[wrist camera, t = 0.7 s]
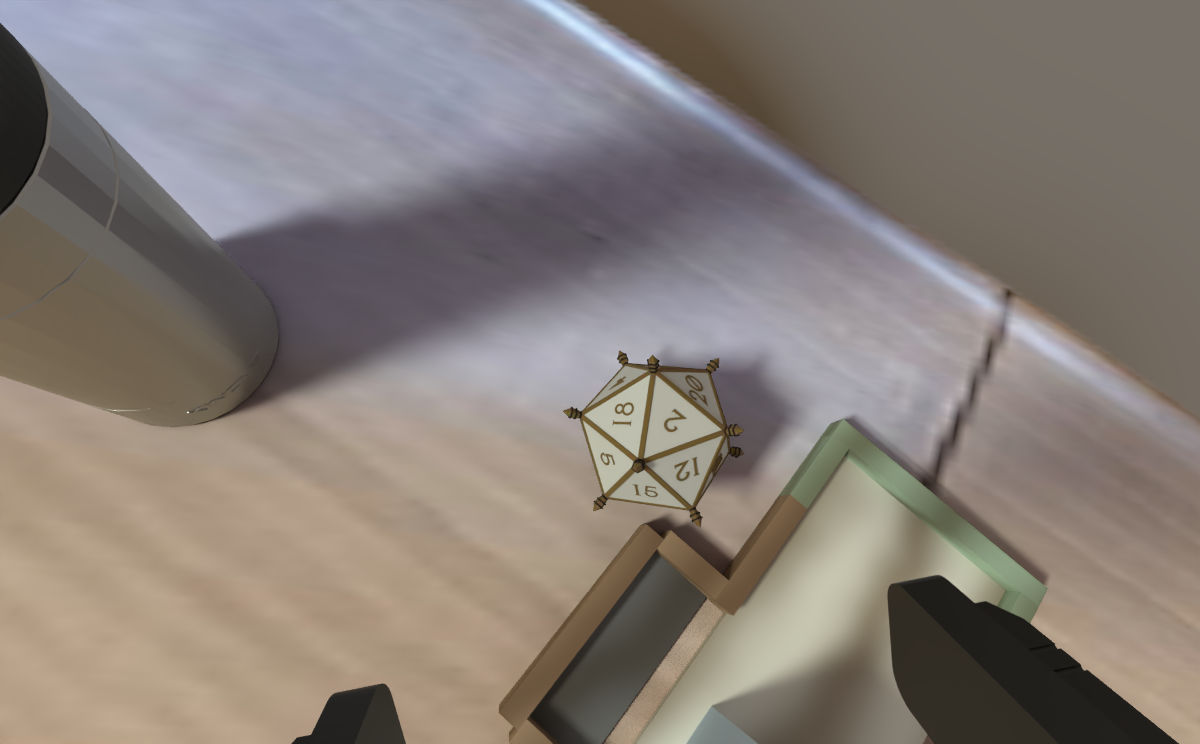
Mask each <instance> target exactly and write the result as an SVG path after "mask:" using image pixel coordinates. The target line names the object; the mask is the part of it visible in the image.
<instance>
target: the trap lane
mask: <svg viewBox="0 0 1200 744" xmlns="http://www.w3.org/2000/svg"><path fill="white" fill-rule="evenodd" d="M933 575H941V576H943V577H945V578H946V579H947V580H949V581H950V582H951V583H952V584H953V585H954V586H956V587H957V588H958V589H959V590H960V591H961V592H963V593H964V594H965V595H966V596H967V597H968V598H969V599H971V600H972V601H973V602H974V603H978V602H983V601H987V602H989V603H991V604H993V605H995V606H998V607H1000V608H1002V609H1004V610H1006V611H1008V612H1010V613H1013V614H1015V615H1017V616H1019V617H1021V618H1023V619H1025V620H1026V621H1027V622H1029V623H1031V621H1032V619H1033V617H1034V615H1035V613H1036V611H1037V609H1038V607H1039V605H1040V603H1041V601H1042V599H1043V597H1044V595H1045V593H1046V591H1047V589H1048V588H1046V587H1045V586H1044V585H1043V584H1042V583H1040V582H1039V581H1038V580H1037V579H1036V578H1034V577H1033V576H1032V575H1031V574H1030V573H1028V572H1027V571H1026V570H1025V569H1024V568H1022V567H1021V566H1020V565H1019V564H1018V563H1016V562H1015V561H1014V560H1013V559H1011V558H1010V557H1009V556H1008V555H1007V554H1005V553H1004V552H1003V551H1002V550H1001V549H999V548H998V547H997V546H996V545H995V544H993V543H992V542H991V541H990V540H989V539H987V538H986V537H985V536H984V535H983V534H981V533H980V532H979V531H978V530H977V529H975V528H974V527H973V526H972V525H971V524H969V523H968V522H967V521H966V520H964V519H963V518H962V517H961V516H960V515H958V514H957V513H956V512H955V511H954V510H952V509H951V508H950V507H949V506H948V505H946V504H945V503H944V502H943V501H942V500H940V499H939V498H938V497H937V496H936V495H934V494H933V493H932V492H931V491H930V490H928V489H927V488H926V487H925V486H924V485H922V484H921V483H920V482H919V481H917V480H916V479H915V478H914V477H913V476H911V475H910V474H909V473H908V472H907V471H905V470H904V469H903V468H902V467H901V466H899V465H898V464H897V463H896V462H895V461H893V460H892V459H891V458H890V457H889V456H887V455H886V454H885V453H884V452H883V451H881V450H880V449H879V448H878V447H877V446H875V445H874V444H873V443H872V442H871V441H869V440H868V439H867V438H866V437H864V436H863V435H862V434H861V433H860V432H858V431H857V430H856V429H855V428H854V427H852V426H851V425H850V424H849V423H848V422H846V421H845V420H844V419H842V420H839V421H837V422H834V423H832V424H830V425H829V426H828V428H827V429H826V431H825V432H824V433H823V435H822V436H821V438H820V439H819V440H818V442H817V443H816V445H815V446H814V447H813V449H812V450H811V452H810V453H809V455H808V456H807V457H806V459H805V460H804V462H803V463H802V464H801V466H800V467H799V469H798V470H797V471H796V473H795V474H794V476H793V477H792V478H791V480H790V481H789V483H788V484H787V485H786V487H785V488H784V490H783V491H782V492H781V494H780V495H779V497H778V498H777V499H776V501H775V502H774V504H773V505H772V506H771V508H770V509H769V511H768V512H767V513H766V515H765V516H764V518H763V519H762V520H761V522H760V523H759V525H758V526H757V527H756V529H755V530H754V532H753V533H752V534H751V536H750V537H749V539H748V540H747V541H746V543H745V544H744V546H743V547H742V548H741V550H740V551H739V553H738V554H737V555H736V557H735V558H734V560H733V561H732V562H731V564H730V565H729V567H728V568H727V569H726V571H725V572H724V574H723V575H722V574H721V573H719V572H718V571H717V570H716V569H715V568H714V567H713V566H711V565H710V564H709V563H708V562H707V561H706V560H705V559H703V558H702V557H701V556H700V555H699V554H698V553H696V552H695V551H694V550H693V549H692V548H691V547H690V546H688V545H687V544H686V543H685V542H684V541H683V540H682V539H680V538H679V537H678V536H677V535H676V534H675V533H674V532H672V531H671V530H670V531H664V532H663V533H662V535H661V536H660V535H658V534H657V533H656V532H655V531H654V530H653V529H652V528H650V527H649V526H648V525H647V524H644V525H640V527H639V528H638V529H637V530H636V532H635V533H634V534H633V535H632V537H631V538H630V539H629V541H628V542H627V543H626V544H625V546H624V547H623V548H622V549H621V551H620V552H619V553H618V555H617V556H616V557H615V558H614V560H613V561H612V562H611V563H610V565H609V566H608V567H607V569H606V570H605V571H604V572H603V574H602V575H601V576H600V577H599V579H598V580H597V581H596V582H595V584H594V585H593V586H592V588H591V589H590V590H589V591H588V593H587V594H586V595H585V596H584V598H583V599H582V600H581V602H580V603H579V604H578V605H577V607H576V608H575V609H574V610H573V612H572V613H571V614H570V616H569V617H568V618H567V619H566V621H565V622H564V623H563V624H562V626H561V627H560V628H559V630H558V631H557V632H556V633H555V635H554V636H553V637H552V638H551V640H550V641H549V642H548V644H547V645H546V646H545V647H544V649H543V650H542V651H541V652H540V654H539V655H538V656H537V658H536V659H535V660H534V661H533V663H532V664H531V665H530V666H529V668H528V669H527V670H526V671H525V673H524V674H523V675H522V677H521V678H520V679H519V680H518V682H517V683H516V684H515V685H514V687H513V688H512V689H511V691H510V692H509V693H508V694H507V696H506V697H505V698H504V699H503V701H502V702H501V703H500V705H499V713H500V714H501V715H502V716H503V717H504V718H505V719H506V720H507V721H508V722H509V723H510V724H511V725H512V726H514V727H513V728H512V730H511V731H510V732H509V742H510V743H511V744H602V743H603V741H604V740H605V738H606V737H607V736H608V734H609V733H610V731H611V730H612V729H613V727H614V726H615V724H616V723H617V722H618V720H619V719H620V717H621V716H622V715H623V713H624V712H625V710H626V709H627V708H628V706H629V705H630V703H631V702H632V701H633V699H634V698H635V696H636V695H637V694H638V692H639V691H640V689H641V688H642V687H643V685H644V684H645V682H646V681H647V680H648V678H649V677H650V675H651V674H652V673H653V671H654V670H655V668H656V667H657V666H658V664H659V663H660V661H661V660H662V659H663V657H664V656H665V654H666V653H667V652H668V650H669V649H670V647H671V646H672V645H673V643H674V642H675V640H676V639H677V638H678V636H679V635H680V633H681V632H682V631H683V629H684V628H685V626H686V625H687V624H688V622H689V621H690V619H691V618H692V617H693V615H694V614H695V612H696V611H697V610H698V608H699V607H700V605H701V604H702V603H703V601H704V600H705V598H706V597H707V598H708V599H709V600H710V601H711V602H712V603H713V604H715V605H716V606H717V607H718V608H719V609H720V610H721V611H723V612H724V613H723V615H722V616H721V617H720V619H719V620H718V622H717V623H716V625H715V626H714V627H713V629H712V630H711V632H710V633H709V635H708V636H707V637H706V639H705V640H704V642H703V643H702V645H701V646H700V648H699V649H698V650H697V652H696V653H695V655H694V656H693V658H692V659H691V660H690V662H689V663H688V665H687V666H686V668H685V669H684V670H683V672H682V673H681V675H680V676H679V678H678V679H677V681H676V682H675V683H674V685H673V686H672V688H671V689H670V691H669V692H668V693H667V695H666V696H665V698H664V699H663V701H662V702H661V703H660V705H659V706H658V708H657V709H656V711H655V712H654V713H653V715H652V716H651V718H650V719H649V721H648V722H647V724H646V725H645V726H644V728H643V729H642V731H641V732H640V734H639V735H638V736H637V738H636V739H635V741H634V742H633V744H686V743H687V742H688V740H689V739H690V737H691V736H692V734H693V733H694V731H695V730H696V728H697V727H698V725H699V724H700V722H701V721H702V719H703V718H704V716H705V715H706V713H707V712H708V710H709V709H710V707H711V706H712V707H713V708H715V709H716V710H717V711H718V712H720V713H721V714H722V715H723V716H724V717H726V718H727V719H728V720H729V721H731V722H732V723H733V724H734V725H736V726H737V727H738V728H739V729H741V730H742V731H743V732H744V733H745V734H747V735H748V736H749V737H750V738H752V739H753V740H754V741H755V742H757V743H758V744H923V743H924V741H925V739H926V737H927V735H928V734H927V733H926V732H925V730H924V729H923V728H922V726H921V725H920V724H919V723H918V721H917V720H916V719H915V717H914V716H913V715H912V713H911V712H910V710H909V709H908V707H907V706H906V704H905V702H904V700H903V698H902V696H901V694H900V692H899V689H898V687H897V684H896V681H895V677H894V673H893V668H892V657H891V643H890V628H889V614H888V600H887V593H888V588H889V586H890V585H891V584H893V583H898V582H903V581H908V580H913V579H918V578H923V577H928V576H933Z"/></svg>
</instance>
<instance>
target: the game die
mask: <svg viewBox="0 0 1200 744" xmlns="http://www.w3.org/2000/svg"><path fill="white" fill-rule="evenodd" d="M617 360H619V363H621V364H622V365H623V367H622V368H621V369H620V370H619V371H618V372H617V373H616V374H615V376H614V377H613V378H612V379H611V380H610V381H609V382H608V383H607V384H606V385H605V387H604V388H603V389H602V390H601V391H600V392H599V393H598V394H597V395H596V397H595V398H594V399H593V400H592V401H591V402H590V403H589V404H588V405H587V406H586V408H585V409H584V410H583V411H579V410H577V408H576V409H574V408H573V407H571V408H570V409H567V410H564V411H563V412H564V413H565V414H566V415H567V416H568V417H569V418H573V419H576V418H580V421H581V424H582V428H583V431H584V434H585V438H586V441H587V444H588V448H589V451H590V454H591V458H592V461H593V464H594V468H595V471H596V474H597V477H598V481H599V484H600V487H601V491H602V496H600V497H599V498H598V497H597V500H596V501H594V509H593V511H596V510H599V509H603V508H602V507H603V506H604V505H606V504H605V503H606V501H607V500H608V499H612V500H619V501H626V502H633V503H640V504H647V505H654V506H661V507H668V508H675V509H682V510H689V511H690V517H691V518H692V522H694V523H695V524H697V525H698V526H699V527H701V520H702V518H703V517H701V515H700V512H698V511H697V510H696V506H697V504H698V503H699V501H700V499H701V498H702V496H703V495H704V493H705V491H706V490H707V488H708V486H709V485H710V483H711V482H712V480H713V478H714V477H715V475H716V474H717V472H718V470H719V469H720V467H721V465H722V464H723V462H724V461H725V459H726V457H727V456H728V454H730V455H731V456H732V457H733V456H735V458H737V457H738V456H740V455H743V454H744V453H743V452H742V451H741V448H738V447H730V441H729V436H739V434H740V433H741V432H743V431H744V430H743V429H741V428H740V427H739V426H738V425H737V424H735V425H732V424H731V425H730V426H729V427H727V424H726V421H725V417H724V414H723V411H722V408H721V405H720V402H719V398H718V395H717V392H716V389H715V386H714V383H713V379H712V376H711V373H712V372H713V371H716V369H717V368H719V358H718V359H715V360H710V363H709V364H707V368H706V369H693V368H681V367H668V366H659V364H658V363H659V360H658V359H656V358H655V357H654V356H653V355H652V356H651V357H650V358H649V359H647V362H648V365H644V364H632V363H628V358H627V355H626V353H625V354H624V353H623V352H621V351H619V355H618V358H617Z"/></svg>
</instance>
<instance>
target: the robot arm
mask: <svg viewBox="0 0 1200 744" xmlns="http://www.w3.org/2000/svg"><path fill="white" fill-rule="evenodd" d="M278 336H279V332H278V324H277V317H276V315H275V312H274V310H273V307H272V304H271V302H270V301H269V299H268V298H267V296H266V295H265V294H264V292H263V291H262V289H261V288H260V287H259V286H258V285H257V284H256V283H255V282H254V281H253V280H252V279H251V278H250V277H249V276H248V275H247V274H246V273H245V272H244V271H243V270H242V269H241V268H240V267H239V266H238V265H237V264H236V263H235V262H234V261H233V260H232V258H231V257H230V256H229V255H228V254H227V253H226V252H225V251H224V250H223V249H222V248H221V247H220V246H219V245H218V244H217V243H216V242H215V241H214V240H213V239H212V238H211V237H210V236H209V235H208V234H207V233H206V232H205V231H204V230H203V229H202V228H201V227H200V226H199V225H198V224H197V223H196V222H195V221H194V219H193V218H192V217H191V216H190V215H189V214H188V213H187V212H186V211H185V210H184V209H183V208H182V207H181V206H180V205H179V204H178V203H177V202H176V201H175V200H174V199H173V198H172V197H171V196H170V195H169V194H168V193H167V192H166V191H165V190H164V189H163V188H162V187H161V186H160V185H159V184H158V183H157V182H156V181H155V180H154V179H153V178H152V177H151V176H150V175H149V174H148V173H147V172H146V171H145V170H144V169H143V167H142V166H141V165H140V164H139V163H138V162H137V161H136V160H135V159H134V158H133V157H132V156H131V155H130V154H129V153H128V152H127V151H126V150H125V149H124V148H123V147H122V146H121V145H120V144H119V143H118V142H117V141H116V140H115V139H114V138H113V137H112V136H111V135H110V134H109V133H108V132H107V131H106V130H105V129H104V128H103V127H102V126H101V125H100V124H99V123H98V122H97V121H96V120H95V119H94V118H93V117H92V116H91V114H90V113H89V112H88V111H87V110H86V109H84V108H83V107H82V106H81V105H80V104H79V103H78V102H77V101H76V100H75V99H74V98H73V97H72V96H71V95H70V94H69V93H68V92H67V91H66V90H65V89H64V88H63V87H62V86H61V85H60V84H59V83H58V82H57V81H56V80H55V79H54V77H53V76H52V75H51V74H50V73H49V72H48V71H47V70H46V69H45V68H44V67H43V66H42V65H41V64H40V63H39V62H38V61H37V60H36V59H35V58H34V57H33V56H32V55H31V54H30V53H29V52H28V51H27V50H26V49H25V48H24V47H23V46H22V45H21V44H20V43H19V42H18V41H17V40H16V38H15V37H14V36H13V35H12V34H11V33H10V32H9V31H8V30H7V29H6V28H5V27H4V26H3V25H2V24H1V23H0V376H3V377H6V378H9V379H12V380H15V381H18V382H21V383H24V384H27V385H30V386H33V387H36V388H39V389H42V390H45V391H48V392H51V393H54V394H57V395H60V396H63V397H66V398H69V399H72V400H75V401H78V402H81V403H84V404H87V405H90V406H92V407H96V408H99V409H102V410H105V411H108V412H111V413H114V414H117V415H121V416H124V417H127V418H130V419H133V420H136V421H139V422H143V423H146V424H149V425H155V426H165V427H178V426H188V425H195V424H198V423H202V422H205V421H209V420H212V419H214V418H216V417H218V416H220V415H222V414H225V413H227V412H229V411H231V410H232V409H234V408H235V407H236V406H238V405H239V404H240V403H242V402H243V401H244V400H246V399H247V398H248V397H249V396H250V395H251V394H252V393H253V392H254V391H255V390H256V389H257V387H258V386H259V385H260V384H261V383H262V381H263V380H264V378H265V376H266V375H267V373H268V371H269V370H270V368H271V366H272V363H273V360H274V357H275V354H276V352H277V345H278ZM887 600H888V614H889V628H890V643H891V657H892V668H893V673H894V677H895V681H896V684H897V687H898V689H899V692H900V694H901V696H902V698H903V700H904V702H905V704H906V706H907V707H908V709H909V710H910V712H911V713H912V715H913V716H914V717H915V719H916V720H917V721H918V723H919V724H920V725H921V726H922V728H923V729H924V730H925V732H926V733H927V734H928V736H929V737H930V738H931V740H932V741H933V742H934V744H1179V743H1177V742H1176V741H1175V740H1174V739H1172V738H1171V737H1170V736H1169V735H1167V734H1166V733H1165V732H1164V731H1163V730H1161V729H1160V728H1159V727H1158V726H1156V725H1155V724H1154V723H1153V722H1151V721H1150V720H1149V719H1148V718H1146V717H1145V716H1144V715H1143V714H1141V713H1140V712H1139V711H1138V710H1136V709H1135V708H1134V707H1133V706H1132V705H1130V704H1129V703H1128V702H1127V701H1125V700H1124V699H1123V698H1122V697H1120V696H1119V695H1118V694H1117V693H1115V692H1114V691H1113V690H1112V689H1110V688H1109V687H1108V686H1107V685H1105V684H1104V683H1103V682H1102V681H1101V680H1099V679H1098V678H1097V677H1096V676H1094V675H1093V674H1092V673H1091V672H1089V671H1088V670H1086V671H1084V670H1083V669H1082V667H1081V664H1079V663H1078V662H1077V661H1076V660H1074V659H1073V658H1072V657H1071V656H1070V655H1068V654H1067V653H1066V652H1065V651H1063V650H1062V649H1057V648H1056V646H1055V643H1053V642H1052V641H1051V640H1050V639H1048V638H1047V637H1046V636H1045V635H1043V634H1042V633H1041V632H1040V631H1038V630H1037V629H1036V628H1035V627H1034V626H1032V625H1031V624H1030V623H1029V622H1027V621H1026V620H1025V619H1023V618H1021V617H1019V616H1017V615H1015V614H1013V613H1010V612H1008V611H1006V610H1004V609H1002V608H1000V607H998V606H995V605H993V604H991V603H989V602H987V601H983V602H978V603H974V602H973V601H972V600H971V599H969V598H968V597H967V596H966V595H965V594H964V593H963V592H961V591H960V590H959V589H958V588H957V587H956V586H954V585H953V584H952V583H951V582H950V581H949V580H947V579H946V578H945V577H943V576H941V575H933V576H928V577H923V578H918V579H913V580H908V581H903V582H898V583H893V584H891V585H890V586H889V588H888V593H887ZM292 744H406V743H405V739H404V736H403V732H402V729H401V726H400V722H399V719H398V715H397V712H396V708H395V705H394V701H393V698H392V695H391V692H390V690H389V688H388V687H387V685H385V684H378V685H373V686H368V687H363V688H358V689H352V690H347V691H342V692H337V693H334V694H333V695H332V696H331V697H330V698H329V700H328V701H327V703H326V705H325V707H324V710H323V712H322V714H321V716H320V718H319V720H318V722H317V724H316V726H315V728H314V730H313V732H312V734H311V735H308V736H303V737H298V738H296V739H295V741H294V742H293V743H292Z"/></svg>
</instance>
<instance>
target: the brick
mask: <svg viewBox="0 0 1200 744" xmlns="http://www.w3.org/2000/svg"><path fill="white" fill-rule="evenodd" d="M686 744H758V743H757V742H755V741H754V740H753V739H752V738H750V737H749V736H748V735H747V734H745V733H744V732H743V731H742V730H741V729H739V728H738V727H737V726H736V725H734V724H733V723H732V722H731V721H729V720H728V719H727V718H726V717H724V716H723V715H722V714H721V713H720V712H718V711H717V710H716V709H715V708H713V707H712V706H711V707H710V709H709V710H708V712H707V713H706V715H705V716H704V718H703V719H702V721H701V722H700V724H699V725H698V727H697V728H696V730H695V731H694V733H693V734H692V736H691V737H690V739H689V740H688V742H687V743H686Z"/></svg>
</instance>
